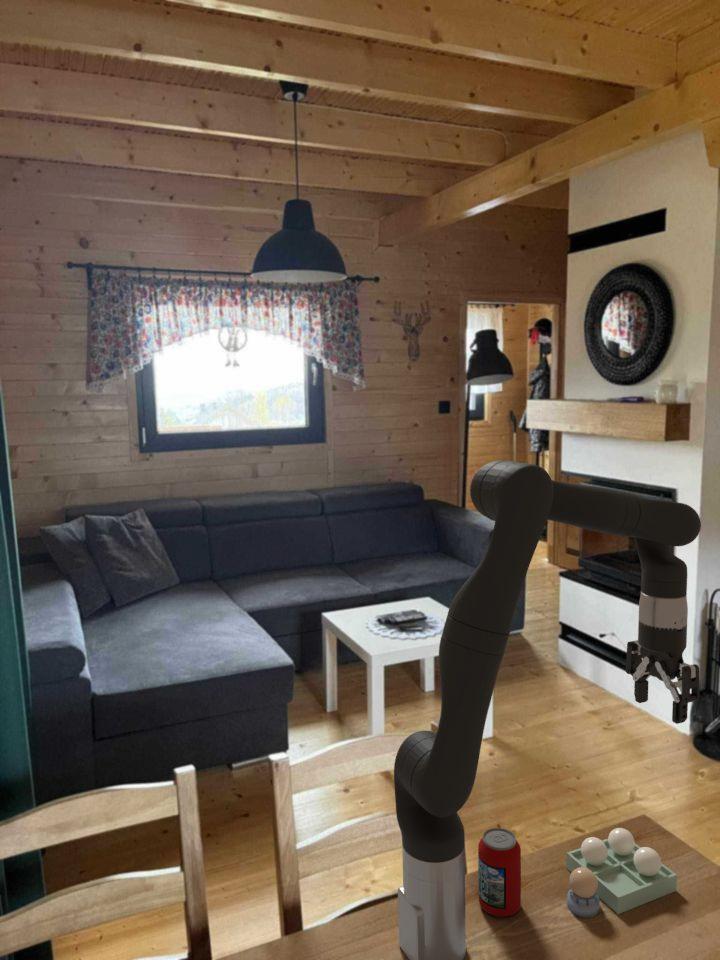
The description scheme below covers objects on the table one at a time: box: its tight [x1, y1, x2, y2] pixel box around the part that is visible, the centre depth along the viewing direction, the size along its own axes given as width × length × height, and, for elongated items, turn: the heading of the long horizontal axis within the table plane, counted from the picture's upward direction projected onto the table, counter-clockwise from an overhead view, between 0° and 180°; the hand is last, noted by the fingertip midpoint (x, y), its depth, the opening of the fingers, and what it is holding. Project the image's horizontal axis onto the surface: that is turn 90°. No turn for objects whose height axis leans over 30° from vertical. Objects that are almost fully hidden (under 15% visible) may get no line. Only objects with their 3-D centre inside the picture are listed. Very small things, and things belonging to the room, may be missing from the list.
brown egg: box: [568, 867, 598, 898], centre depth 119 cm, size 4×4×4 cm
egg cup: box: [566, 888, 601, 919], centre depth 119 cm, size 5×5×3 cm
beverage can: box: [477, 827, 522, 918], centre depth 119 cm, size 7×7×12 cm
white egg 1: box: [580, 836, 608, 866], centre depth 126 cm, size 4×4×4 cm
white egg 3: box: [633, 846, 663, 877], centre depth 123 cm, size 4×4×4 cm
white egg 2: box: [607, 827, 636, 856], centre depth 129 cm, size 4×4×4 cm
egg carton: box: [565, 838, 678, 915], centre depth 125 cm, size 12×12×3 cm
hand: (659, 711), depth 125 cm, fingers open, 8 cm apart
